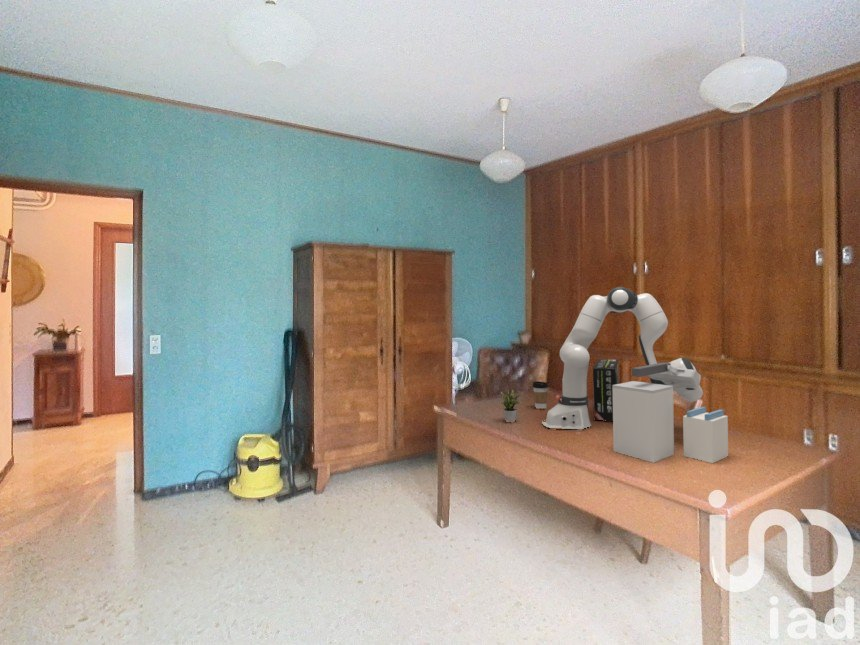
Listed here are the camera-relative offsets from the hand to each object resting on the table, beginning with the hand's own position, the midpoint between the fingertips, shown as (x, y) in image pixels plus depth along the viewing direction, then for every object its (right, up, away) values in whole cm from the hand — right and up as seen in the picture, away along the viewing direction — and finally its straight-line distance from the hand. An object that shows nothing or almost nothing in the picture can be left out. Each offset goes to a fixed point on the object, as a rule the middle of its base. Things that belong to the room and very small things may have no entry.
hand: (661, 366), depth 178 cm
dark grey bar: (-6, -2, -4) cm, 7 cm away
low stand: (+10, -32, -12) cm, 36 cm away
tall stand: (-11, -33, -7) cm, 35 cm away
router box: (0, -31, +56) cm, 63 cm away
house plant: (-51, -32, +44) cm, 75 cm away
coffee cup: (-31, -31, +71) cm, 83 cm away
